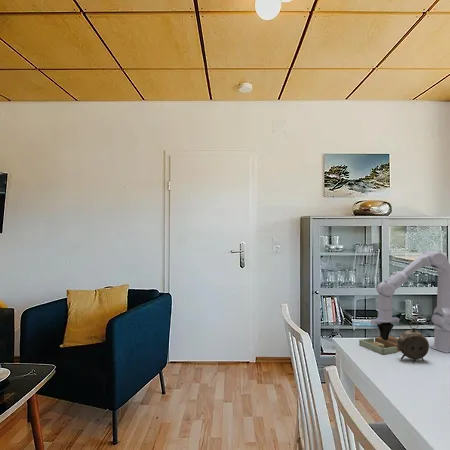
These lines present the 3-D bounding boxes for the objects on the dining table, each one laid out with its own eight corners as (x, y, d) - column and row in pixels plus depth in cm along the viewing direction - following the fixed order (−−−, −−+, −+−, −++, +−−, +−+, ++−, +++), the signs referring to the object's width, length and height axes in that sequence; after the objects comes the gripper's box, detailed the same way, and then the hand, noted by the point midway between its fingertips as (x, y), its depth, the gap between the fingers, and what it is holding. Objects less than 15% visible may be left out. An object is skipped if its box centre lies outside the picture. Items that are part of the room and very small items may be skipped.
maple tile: (368, 342, 168) (368, 347, 167) (376, 345, 163) (376, 350, 163) (376, 341, 169) (376, 346, 169) (384, 344, 165) (384, 349, 165)
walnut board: (389, 341, 177) (389, 335, 177) (410, 349, 166) (410, 342, 166) (374, 343, 174) (374, 337, 174) (395, 352, 163) (395, 345, 163)
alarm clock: (424, 359, 154) (425, 319, 154) (430, 364, 148) (431, 323, 148) (397, 358, 155) (397, 319, 155) (401, 363, 149) (402, 322, 150)
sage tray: (372, 343, 175) (372, 337, 175) (397, 352, 162) (397, 346, 162) (359, 345, 172) (359, 339, 172) (382, 355, 159) (382, 349, 159)
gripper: (390, 306, 175) (390, 335, 175) (366, 308, 169) (365, 338, 169) (402, 309, 168) (402, 339, 168) (377, 311, 163) (377, 343, 163)
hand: (384, 339), depth 168 cm, fingers closed
